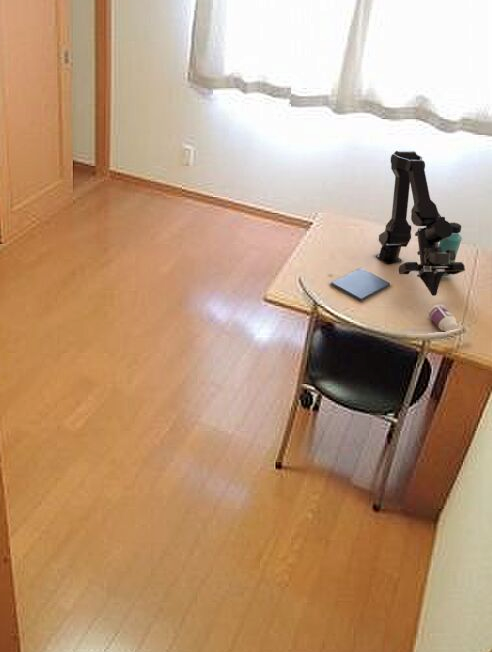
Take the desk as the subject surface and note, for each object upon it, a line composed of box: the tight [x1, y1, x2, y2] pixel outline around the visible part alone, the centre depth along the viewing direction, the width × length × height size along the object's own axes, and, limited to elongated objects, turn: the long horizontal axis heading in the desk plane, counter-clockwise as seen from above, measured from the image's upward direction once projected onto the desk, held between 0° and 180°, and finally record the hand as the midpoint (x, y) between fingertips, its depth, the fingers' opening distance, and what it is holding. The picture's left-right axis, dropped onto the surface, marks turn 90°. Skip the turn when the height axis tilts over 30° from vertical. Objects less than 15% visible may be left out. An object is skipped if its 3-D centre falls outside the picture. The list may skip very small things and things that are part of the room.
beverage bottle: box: [438, 222, 463, 277], centre depth 220 cm, size 6×7×20 cm
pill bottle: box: [428, 304, 459, 332], centre depth 198 cm, size 5×5×10 cm
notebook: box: [330, 267, 391, 302], centre depth 218 cm, size 16×12×1 cm
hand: (434, 295), depth 201 cm, fingers closed
